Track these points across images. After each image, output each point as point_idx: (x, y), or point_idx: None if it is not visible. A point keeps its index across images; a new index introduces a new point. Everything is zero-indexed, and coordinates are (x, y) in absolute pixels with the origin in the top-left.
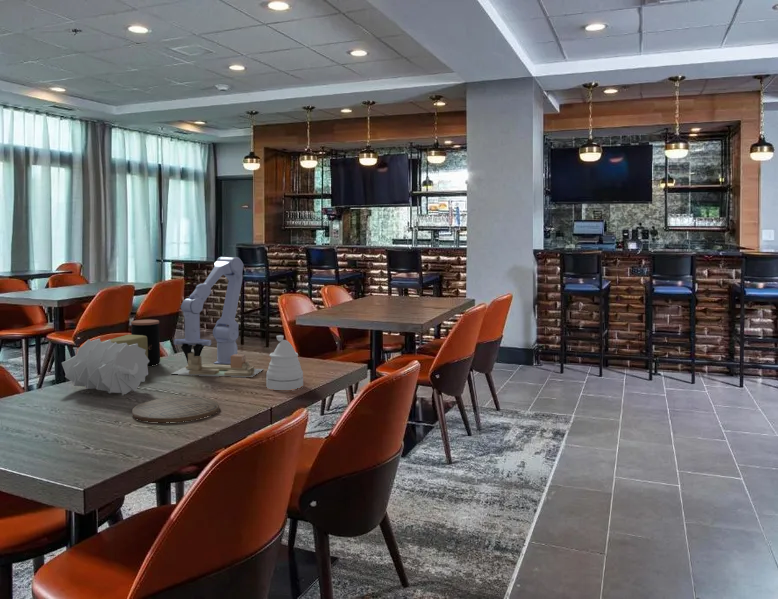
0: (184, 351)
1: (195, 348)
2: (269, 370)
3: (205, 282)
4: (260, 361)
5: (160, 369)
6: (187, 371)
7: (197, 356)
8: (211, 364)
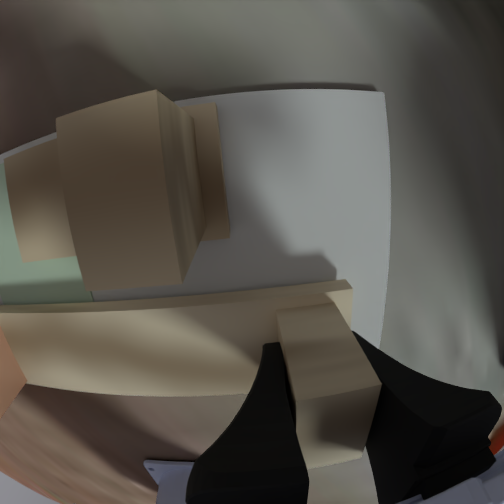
0: (432, 387)
1: (257, 459)
2: None
3: None
4: (95, 488)
5: (494, 258)
6: (290, 207)
7: (129, 261)
8: (167, 393)
